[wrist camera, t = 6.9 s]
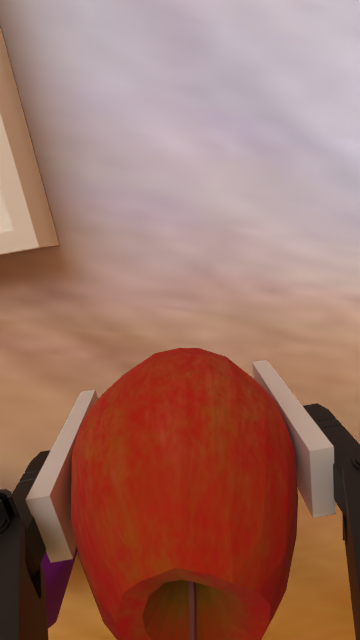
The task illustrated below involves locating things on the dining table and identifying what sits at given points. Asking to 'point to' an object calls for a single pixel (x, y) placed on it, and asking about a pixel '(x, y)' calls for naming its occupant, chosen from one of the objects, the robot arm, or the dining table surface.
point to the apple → (185, 501)
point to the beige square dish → (19, 175)
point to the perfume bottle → (55, 584)
